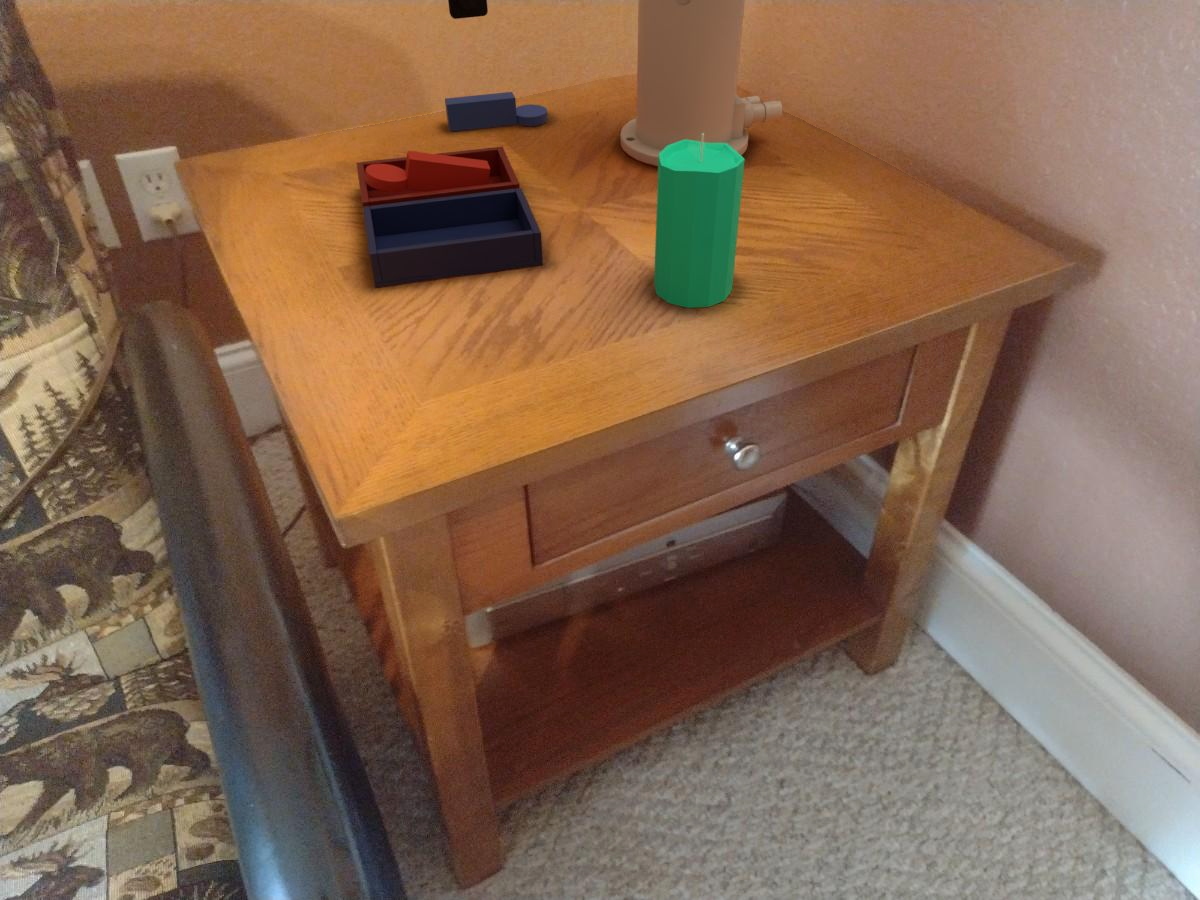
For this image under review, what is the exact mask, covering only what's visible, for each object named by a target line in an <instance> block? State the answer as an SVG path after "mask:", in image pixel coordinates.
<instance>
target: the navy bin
mask: <svg viewBox="0 0 1200 900" xmlns="http://www.w3.org/2000/svg"><path fill="white" fill-rule="evenodd" d="M362 213H363V220H364V228H365V234H366V242H367V248H368V257H369V260H370V266H371V271H372V276H373V282H374V287H375V288H376V289H377V288H382V287H391V286H398V285H405V284H411V283H419V282H427V281H428V282H429V281H435V280H442V279H443V280H444V279H449V278H455V277H464V276H472V275H479V274H487V273H493V272H500V271H501V272H502V271H507V270H515V269H523V268H531V267H537V266H543V265H544V262H543V260H544V259H543V244H542V241H543V240H542V231H541V229H540V227H539V224H538V222H537V220H536V218H535V215H534V213H533V211H532V209H531V206H530V204H529V202H528V200H527V198H526V196H525V193H524V191H523V189H522V188H521V187H520V188H516V189H508V190H499V191H491V192H483V193H474V194H466V195H458V196H449V197H441V198H433V199H424V200H416V201H407V202H399V203H391V204H382V205H374V206H366V207H363V206H362Z"/></svg>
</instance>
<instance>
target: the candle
mask: <svg viewBox="0 0 1200 900" xmlns="http://www.w3.org/2000/svg"><path fill="white" fill-rule="evenodd" d="M703 140H704V134H703V133H702V139H701V142H699V141H693V140H687V139H684V140H681V141H678V142H676V143H673V144H670V145H667V146H666V147H665V148H664V149H663V150H662V151H661V152H660V153H659V156H658V166H657V186H656V187H657V189H656V215H655V217H656V218H655V242H654V243H655V244H654V246H655V247H654V271H653V273H654V275H653V278H654V279H653V286H654V290H655V294H656V295H657V296H658V297H659V298H661V299H662V300H663V301H664V302H666V303H668V304H671V305H675V306H679V307H683V308H686V309H691V308H709V307H712V306H715V305H717V304H721V303H722V302H725V301H726V300H727V298H728V297H729V296H730V294H731V293H732V292H733V291H732V290H733V283H734V272H735V262H736V253H737V244H738V243H737V241H738V231H739V222H740V212H741V204H742V203H741V202H742V192H743V183H744V182H743V181H744V174H745V173H744V172H745V163H746V162H745V160H746V159H745V158H744V157H743V155H740V154H739V153H738V152H737V151H735V150H734V149H733V148H732V147H731V146H730V145H729V144H727V143H705V142H703Z"/></svg>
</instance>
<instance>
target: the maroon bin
mask: <svg viewBox="0 0 1200 900" xmlns="http://www.w3.org/2000/svg"><path fill="white" fill-rule="evenodd" d="M437 154H438V155H446V156H454V157H462V158H469V159H477V160H485V161H487V162H488V164H489V167H490V175H489V181H488V185H480V186H471V187H463V188H454V189H446V190H437V191H429V192H423V191H414V190H406V189H405V190H404V191H401V192H385V191H380V190H377V189H374V188H372V187H370V186H369V185H367V183H366V182H365V171H366V168H367V166H369V165H372V164H388V165H393V166H396V167H399V168H401V169H403V170H405V168H406V159H407V156H403V157H394V158H386V159H384V158H383V159H376V160H366V161H359V162H356V163H355V164H356V170H357V178H358V186H359V191H360V200H361V205H362V208H363V207H366V206H374V205H382V204H391V203H399V202H407V201H416V200H424V199H433V198H441V197H449V196H458V195H466V194H474V193H483V192H491V191H499V190H508V189H516V188H521V187H520V182H519V180H518V177H517V175H516V173H515V171H514V169H513V166H512V164H511V162H510V160H509V158H508V154H507V153H506V151H505V149H504V147H503V146H492V147H484V148H475V149H467V150H457V151H449V152H440V153H439V152H438V153H437Z"/></svg>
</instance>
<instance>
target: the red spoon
mask: <svg viewBox="0 0 1200 900" xmlns="http://www.w3.org/2000/svg"><path fill="white" fill-rule="evenodd" d="M406 157H407V159H406V168H405V170H403V169H401V168H399V167H396V166H393V165H388V164H372V165H369V166H367V168H366V171H365V182H366V183H367V185H369V186H370V187H372V188H374V189H377V190H380V191H385V192H401V191H404V190H405V189H406V190H414V191H423V192H429V191H437V190H446V189H454V188H463V187H471V186H480V185H488V181H489V175H490V167H489V164H488V162H487V161H485V160H477V159H469V158H462V157H454V156H446V155H438V153H430V152H422V151H413V150H407V151H406Z"/></svg>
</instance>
